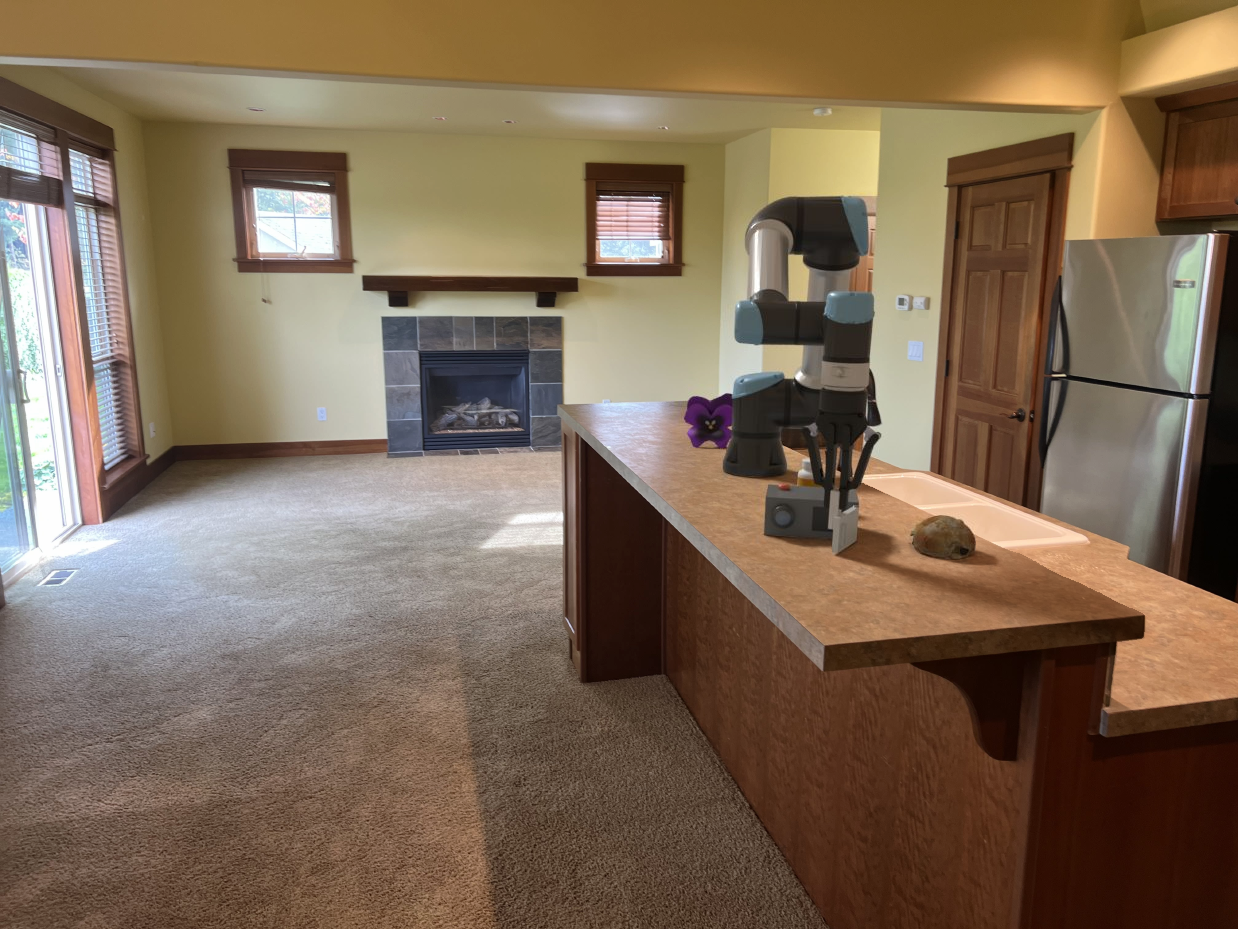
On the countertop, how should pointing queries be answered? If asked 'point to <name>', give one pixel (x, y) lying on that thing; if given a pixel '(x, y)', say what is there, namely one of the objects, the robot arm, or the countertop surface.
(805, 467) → the supplement bottle
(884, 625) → the countertop surface
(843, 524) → the side door
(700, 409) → the flower
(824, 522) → the box with round dial
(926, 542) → the bread roll
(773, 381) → the robot arm
